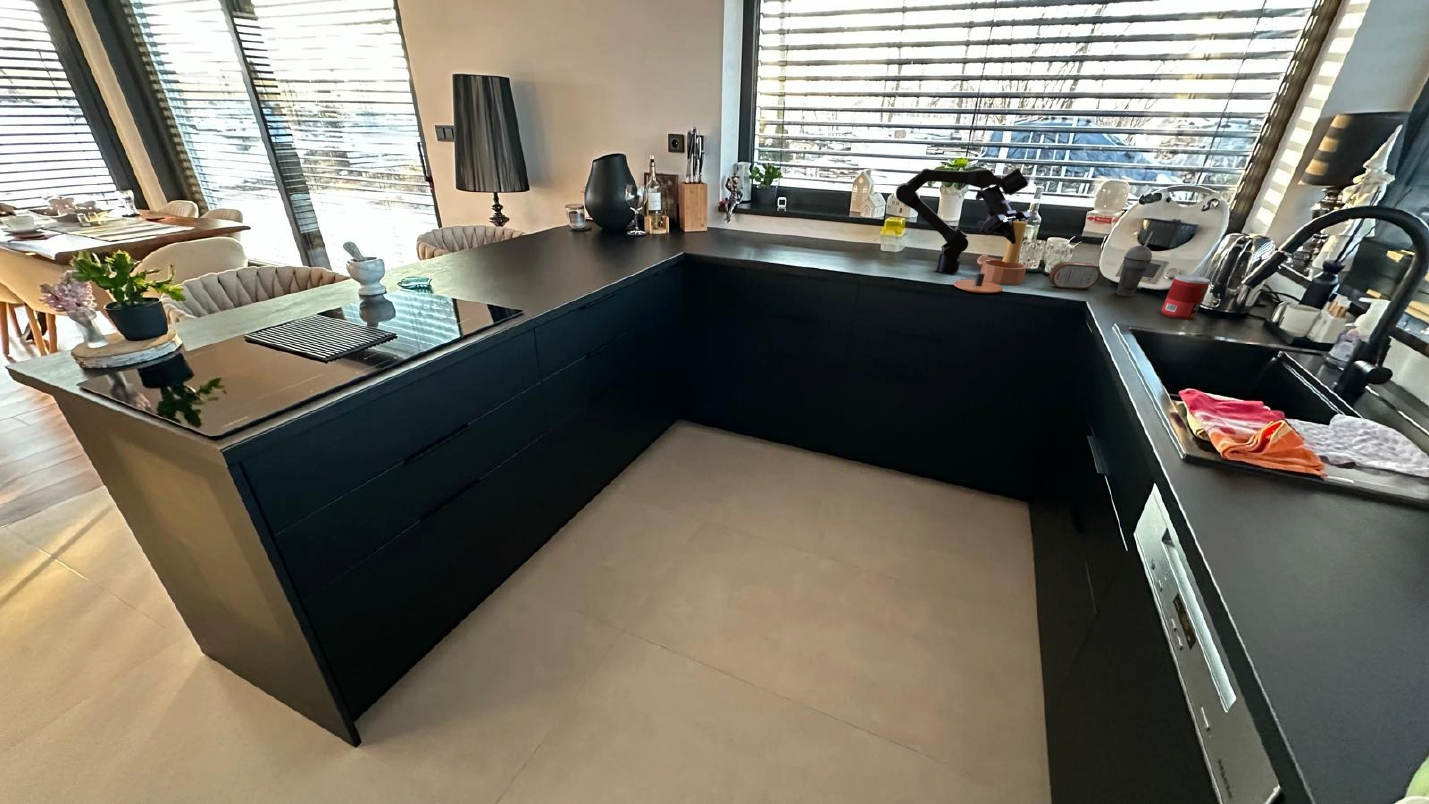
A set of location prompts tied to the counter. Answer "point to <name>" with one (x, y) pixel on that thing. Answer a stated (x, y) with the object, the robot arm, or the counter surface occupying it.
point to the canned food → (1185, 296)
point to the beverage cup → (1134, 269)
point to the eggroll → (1014, 249)
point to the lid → (978, 285)
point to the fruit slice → (984, 257)
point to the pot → (1003, 272)
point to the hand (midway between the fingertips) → (1018, 242)
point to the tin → (1074, 275)
